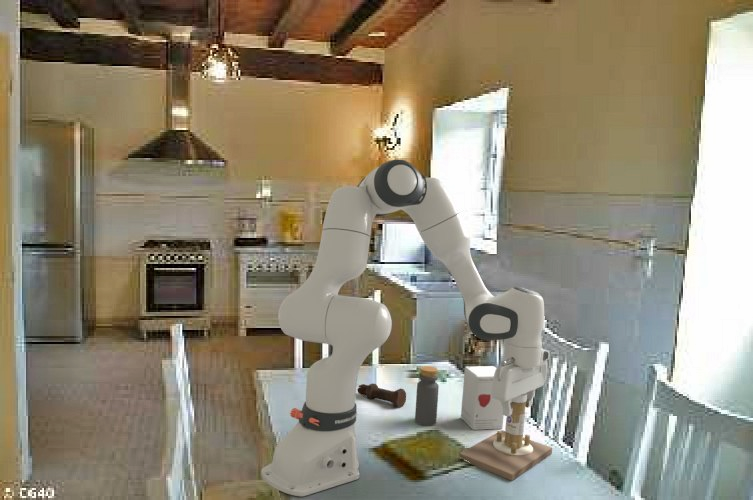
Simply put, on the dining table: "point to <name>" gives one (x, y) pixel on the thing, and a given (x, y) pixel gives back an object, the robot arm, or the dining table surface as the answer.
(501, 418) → the supplement box
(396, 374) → the dining table surface
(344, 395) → the robot arm
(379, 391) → the bolt
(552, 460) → the dining table surface
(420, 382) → the bottle
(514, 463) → the pin board
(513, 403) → the sprinkles bottle
